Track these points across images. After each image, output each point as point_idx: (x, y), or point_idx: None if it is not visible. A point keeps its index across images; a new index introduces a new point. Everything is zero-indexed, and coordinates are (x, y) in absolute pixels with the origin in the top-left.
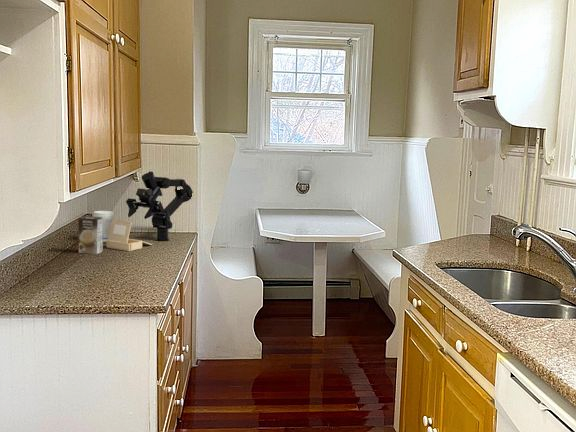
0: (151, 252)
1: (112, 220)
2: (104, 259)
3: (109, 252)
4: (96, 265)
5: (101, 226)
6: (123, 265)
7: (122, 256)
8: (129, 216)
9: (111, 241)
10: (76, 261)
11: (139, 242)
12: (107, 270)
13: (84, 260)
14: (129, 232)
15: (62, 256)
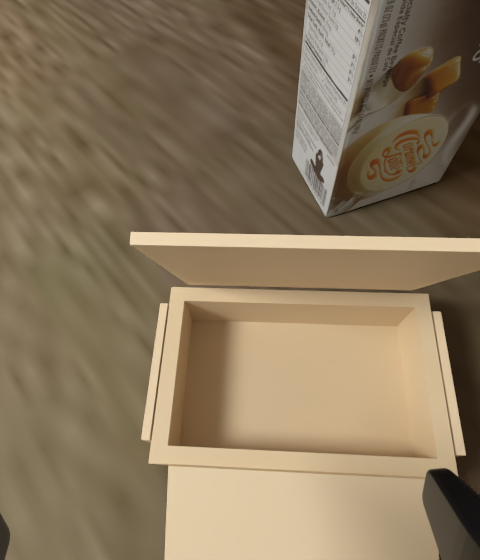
0: (17, 376)
1: None
2: (165, 101)
3: (268, 221)
4: (120, 25)
5: (349, 47)
6: (12, 72)
7: (127, 187)
8: (429, 506)
9: (367, 292)
10: (246, 27)
11: (146, 408)
12: (30, 3)
13: (231, 50)
14: (167, 269)
15: None
